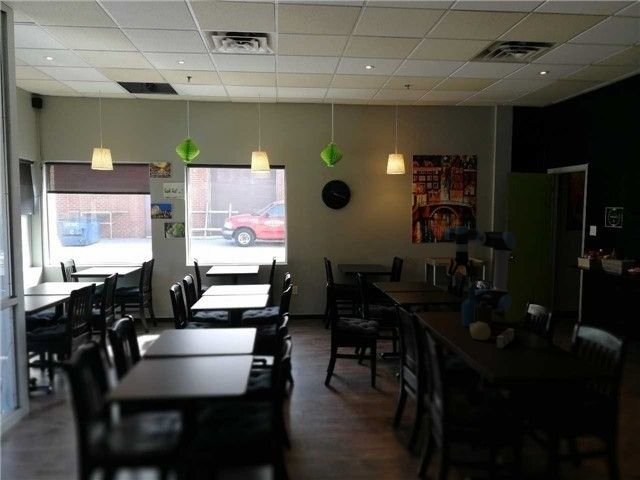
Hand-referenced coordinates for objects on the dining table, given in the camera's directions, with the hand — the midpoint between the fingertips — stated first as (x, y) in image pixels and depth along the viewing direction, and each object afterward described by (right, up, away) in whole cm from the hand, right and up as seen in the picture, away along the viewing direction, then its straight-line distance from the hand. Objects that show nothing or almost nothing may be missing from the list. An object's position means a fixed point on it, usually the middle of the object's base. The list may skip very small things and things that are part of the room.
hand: (461, 286), depth 287 cm
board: (+21, -32, -15) cm, 41 cm away
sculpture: (+10, -32, -5) cm, 34 cm away
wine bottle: (+15, -30, +28) cm, 44 cm away
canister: (+17, -31, +10) cm, 37 cm away
